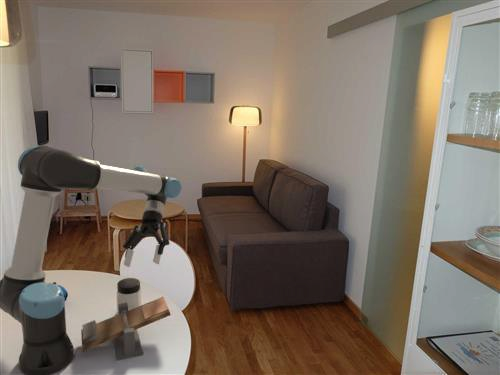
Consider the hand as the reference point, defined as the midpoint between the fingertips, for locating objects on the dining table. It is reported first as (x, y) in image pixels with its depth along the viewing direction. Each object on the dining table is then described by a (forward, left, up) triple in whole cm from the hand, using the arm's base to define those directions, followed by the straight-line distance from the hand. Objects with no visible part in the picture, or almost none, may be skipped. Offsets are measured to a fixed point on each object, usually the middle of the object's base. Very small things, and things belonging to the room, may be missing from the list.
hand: (141, 264), depth 151 cm
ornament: (-30, -12, -19) cm, 38 cm away
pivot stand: (+7, -18, -19) cm, 27 cm away
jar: (-3, -3, -19) cm, 19 cm away
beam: (+7, -18, -12) cm, 23 cm away
